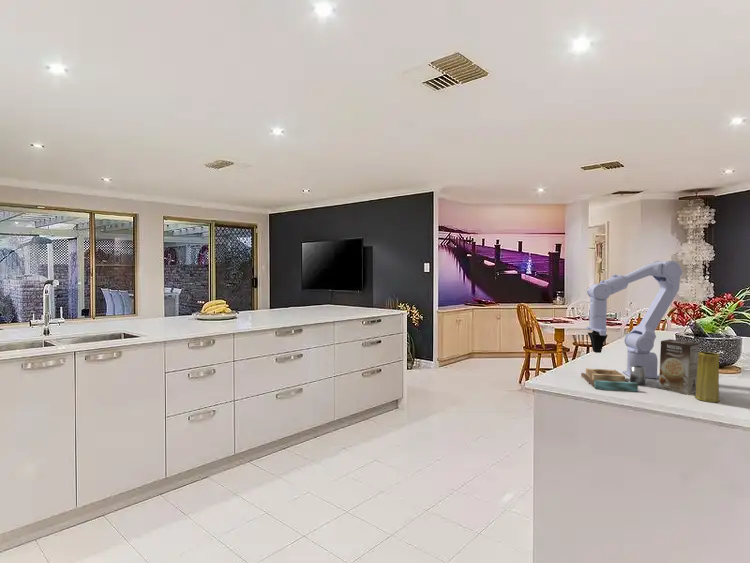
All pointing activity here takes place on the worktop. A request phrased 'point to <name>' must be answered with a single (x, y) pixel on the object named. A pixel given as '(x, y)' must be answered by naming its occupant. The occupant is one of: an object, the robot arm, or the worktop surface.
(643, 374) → the cylinder
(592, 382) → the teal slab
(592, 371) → the wooden tray
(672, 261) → the robot arm
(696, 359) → the coffee box
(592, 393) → the worktop surface
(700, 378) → the vase
